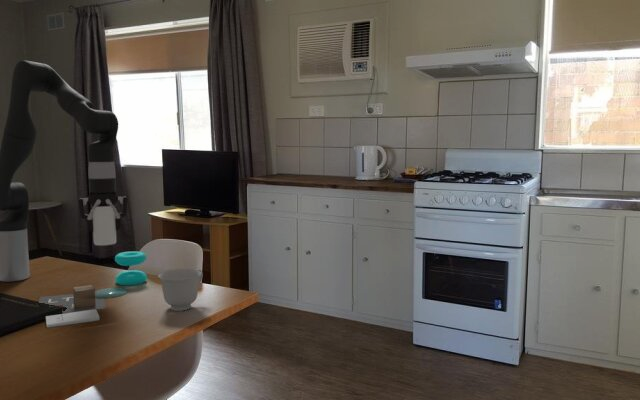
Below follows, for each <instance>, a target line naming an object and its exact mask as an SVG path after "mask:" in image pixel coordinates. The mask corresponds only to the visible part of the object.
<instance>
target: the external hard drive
mask: <svg viewBox="0 0 640 400" xmlns="http://www.w3.org/2000/svg"><path fill="white" fill-rule="evenodd" d="M95 321H96V322H97V321H100V314H99V313H98V309H93V310H86V311H78V312H69V313H60V314H53V315H52V314H51V315H46V316H45V322H46V328H54V327H62V326H63V327H64V326H67V325H68V326H69V325H75V324H82V323H89V322H95Z"/></svg>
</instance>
